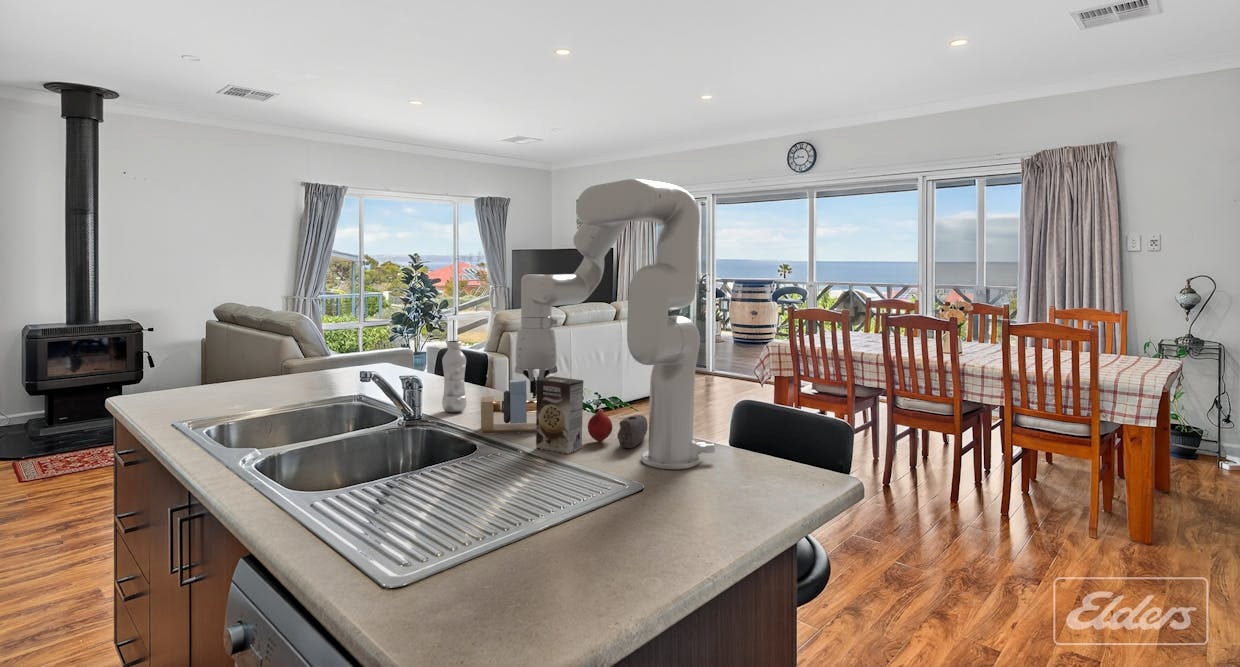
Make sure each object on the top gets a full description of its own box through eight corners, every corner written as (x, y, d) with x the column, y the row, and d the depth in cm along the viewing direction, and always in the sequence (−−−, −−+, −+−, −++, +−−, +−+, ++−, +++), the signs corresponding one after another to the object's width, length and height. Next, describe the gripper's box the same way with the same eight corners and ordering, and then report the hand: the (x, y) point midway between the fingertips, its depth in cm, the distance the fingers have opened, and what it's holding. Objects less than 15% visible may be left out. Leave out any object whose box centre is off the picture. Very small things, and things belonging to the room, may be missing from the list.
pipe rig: (548, 425, 176) (548, 395, 175) (550, 431, 170) (550, 400, 169) (481, 427, 173) (481, 397, 172) (481, 433, 167) (480, 402, 166)
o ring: (509, 418, 175) (509, 388, 174) (510, 425, 167) (510, 394, 166) (503, 418, 174) (503, 388, 173) (503, 425, 167) (503, 394, 166)
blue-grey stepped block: (525, 416, 175) (525, 378, 174) (526, 423, 168) (526, 383, 167) (509, 417, 174) (509, 378, 173) (510, 423, 167) (510, 383, 166)
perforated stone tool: (634, 435, 168) (635, 407, 168) (654, 437, 166) (655, 409, 166) (612, 450, 154) (612, 420, 154) (634, 453, 153) (634, 423, 152)
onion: (601, 447, 157) (601, 413, 156) (582, 442, 160) (582, 409, 160) (616, 441, 162) (617, 409, 161) (598, 437, 165) (598, 405, 164)
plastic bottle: (440, 410, 191) (439, 340, 189) (464, 408, 194) (463, 339, 192) (444, 415, 186) (443, 343, 183) (469, 413, 188) (468, 342, 186)
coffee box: (534, 448, 155) (534, 379, 153) (550, 442, 160) (550, 375, 158) (568, 454, 150) (569, 383, 149) (583, 447, 156) (584, 379, 154)
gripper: (564, 322, 174) (564, 392, 176) (506, 322, 172) (506, 393, 174) (567, 325, 167) (566, 398, 169) (506, 325, 164) (506, 399, 166)
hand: (536, 395), depth 171 cm, fingers closed
